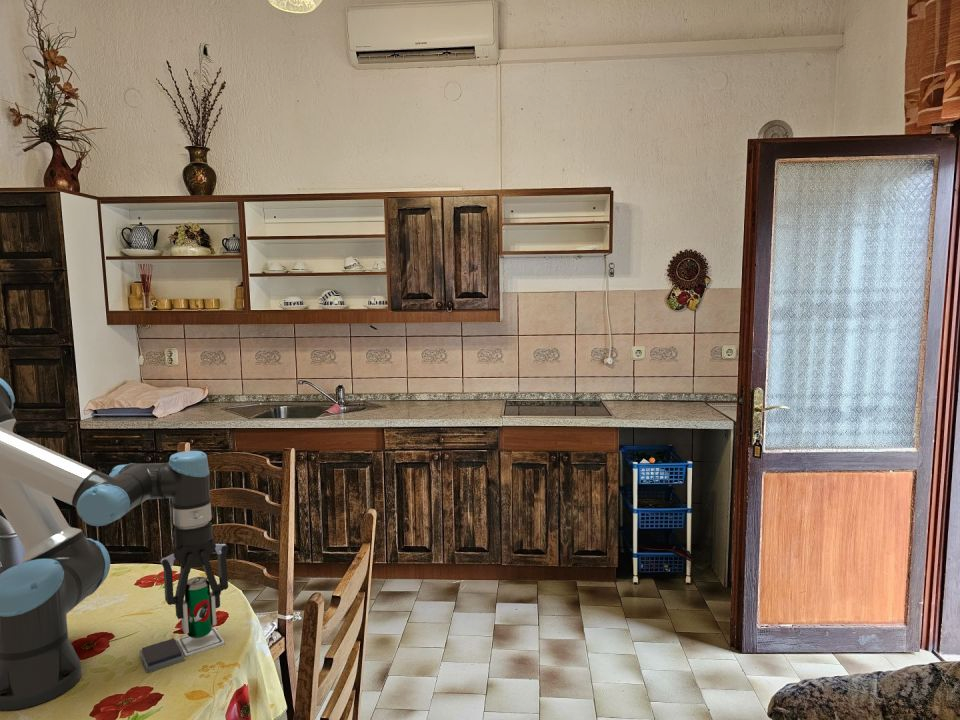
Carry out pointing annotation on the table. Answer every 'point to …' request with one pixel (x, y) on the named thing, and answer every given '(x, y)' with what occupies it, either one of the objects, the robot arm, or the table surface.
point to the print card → (200, 643)
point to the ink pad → (161, 655)
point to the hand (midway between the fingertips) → (199, 626)
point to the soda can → (198, 607)
